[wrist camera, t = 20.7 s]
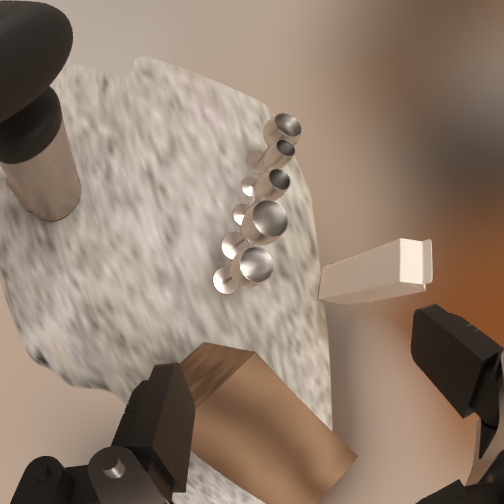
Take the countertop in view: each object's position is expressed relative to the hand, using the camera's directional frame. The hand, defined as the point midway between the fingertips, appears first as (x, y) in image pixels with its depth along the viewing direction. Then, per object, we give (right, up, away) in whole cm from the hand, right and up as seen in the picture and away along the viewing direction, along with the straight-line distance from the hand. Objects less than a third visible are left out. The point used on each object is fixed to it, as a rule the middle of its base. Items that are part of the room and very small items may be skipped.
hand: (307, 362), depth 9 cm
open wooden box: (-6, -19, +31) cm, 37 cm away
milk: (+13, -3, +43) cm, 45 cm away
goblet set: (-3, +10, +40) cm, 42 cm away
